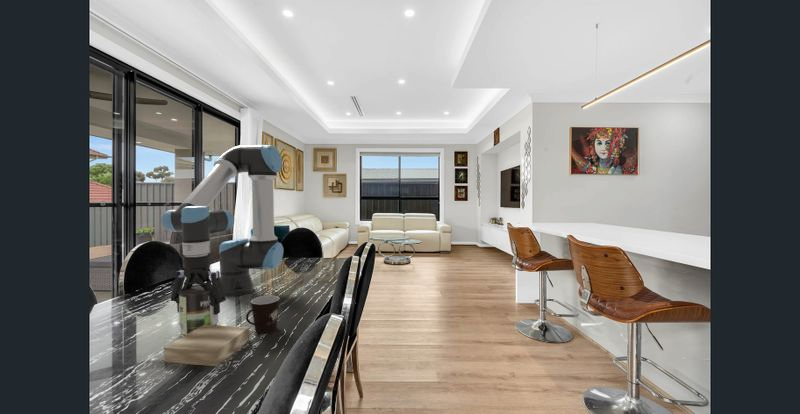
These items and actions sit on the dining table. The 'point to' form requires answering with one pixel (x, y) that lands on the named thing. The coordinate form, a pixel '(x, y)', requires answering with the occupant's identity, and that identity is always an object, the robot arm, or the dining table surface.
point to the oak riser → (207, 345)
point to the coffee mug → (264, 313)
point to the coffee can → (194, 308)
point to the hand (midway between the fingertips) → (199, 323)
